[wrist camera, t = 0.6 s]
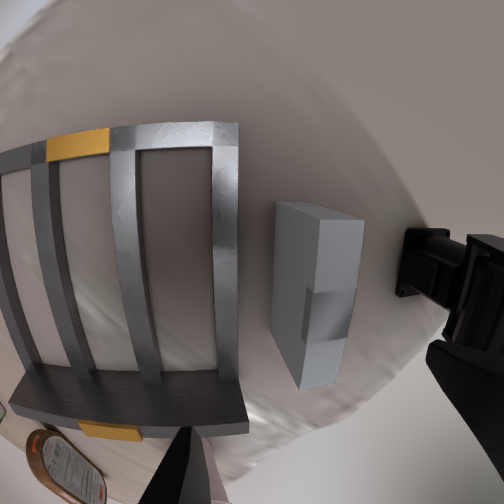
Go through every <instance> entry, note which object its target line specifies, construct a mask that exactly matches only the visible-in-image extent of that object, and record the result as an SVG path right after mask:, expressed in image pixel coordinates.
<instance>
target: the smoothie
mask: <svg viewBox="0 0 504 504" xmlns="http://www.w3.org/2000/svg"><path fill="white" fill-rule="evenodd" d="M201 440H202V443H203V449H204V454H205V460H206V465H207V470H208V475H209V482H210V495H211V504H231V503H229V501H228V498H227V495H226V492H225V489H224V486H223V484H222V481H221V478H220V475H219V472H218V469H217V466H216V462H215V459H214V456H213V453H212V449H211V446H210V443H209V440H208V439H206V438H205V437H201Z"/></svg>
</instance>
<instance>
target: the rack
mask: <svg viewBox="0 0 504 504" xmlns="http://www.w3.org/2000/svg"><path fill="white" fill-rule="evenodd" d="M238 143H239V122H217V121H206V122H172V123H155V124H143V125H133V126H124V127H116V128H110V127H109V128H102V129H95V130H89V131H83V132H78V133H73V134H68V135H63V136H58V137H54V138H49V139H47V140H45V141H41V142H37V143H33V144H29V145H26V146H22V147H19V148H15V149H12V150H9V151H6V152H3V153H0V308H1V311H2V314H3V317H4V320H5V323H6V325H7V328H8V331H9V333H10V336H11V338H12V341H13V343H14V346H15V348H16V350H17V353H18V355H19V357H20V359H21V361H22V364H23V366H24V368H25V370H26V372H25V374H24V376H23V377H22V379H21V381H20V382H19V384H18V386H17V387H16V389H15V391H14V393H13V394H12V396H11V398H10V400H9V401H8V403H9V405H10V406H11V408H12V409H13V411H14V412H15V414H17V415H20V416H23V417H26V418H30V419H33V420H37V421H40V422H44V423H48V424H52V425H56V426H61V427H66V428H71V429H76V430H81V431H83V432H84V433H85V435H86V436H92V437H99V438H106V439H114V440H124V441H137V442H142V439H143V437H145V438H175V436H176V434H177V432H178V430H179V428H180V427H182V426H189V425H192V426H193V427H194V428H195V430H196V431H197V433H198V434H199V436H200V437H216V436H228V435H237V434H246V433H249V419H248V415H247V412H246V408H245V404H244V400H243V396H242V392H241V388H240V384H239V380H238V289H237V235H238ZM199 148H211V231H212V270H213V296H214V317H215V335H216V351H217V365H218V370H205V371H183V372H163V368H162V363H161V359H160V354H159V349H158V344H157V339H156V333H155V328H154V322H153V316H152V310H151V303H150V296H149V289H148V281H147V273H146V264H145V255H144V244H143V231H142V215H141V192H140V151H154V150H171V149H199ZM102 155H110V190H111V210H112V224H113V235H114V244H115V253H116V261H117V268H118V275H119V282H120V288H121V293H122V299H123V304H124V309H125V314H126V319H127V324H128V328H129V333H130V337H131V341H132V345H133V349H134V353H135V357H136V361H137V364H138V368H139V371H140V372H126V371H105V370H97V369H96V367H95V364H94V361H93V358H92V356H91V353H90V350H89V347H88V344H87V341H86V338H85V334H84V331H83V328H82V324H81V321H80V317H79V313H78V310H77V306H76V302H75V298H74V293H73V289H72V284H71V280H70V275H69V269H68V264H67V258H66V252H65V245H64V238H63V230H62V221H61V210H60V195H59V162H63V161H69V160H75V159H81V158H88V157H95V156H102ZM29 168H31V192H32V207H33V218H34V227H35V235H36V242H37V248H38V254H39V260H40V265H41V270H42V275H43V279H44V284H45V288H46V292H47V296H48V299H49V303H50V307H51V310H52V314H53V317H54V320H55V323H56V327H57V330H58V333H59V335H60V338H61V341H62V344H63V347H64V349H65V352H66V355H67V357H68V360H69V362H70V365H71V367H72V368H70V367H62V366H54V365H47V364H43V363H42V361H41V358H40V356H39V354H38V351H37V349H36V346H35V344H34V341H33V339H32V336H31V333H30V331H29V328H28V325H27V322H26V319H25V316H24V313H23V310H22V307H21V304H20V300H19V297H18V293H17V289H16V286H15V282H14V277H13V273H12V269H11V264H10V259H9V254H8V248H7V242H6V236H5V228H4V220H3V210H2V196H1V175H5V174H8V173H12V172H16V171H20V170H24V169H29Z"/></svg>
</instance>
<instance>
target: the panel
mask: <svg viewBox="0 0 504 504" xmlns="http://www.w3.org/2000/svg"><path fill="white" fill-rule="evenodd" d="M364 223H365V220H363V219H360V218H357V217H354V216H351V215H348V214H345V213H342V212H339V211H336V210H332V209H329V208H326V207H323V206H320V205H316V204H313V203H310V202H276V212H275V241H274V265H273V287H272V306H271V324H270V332H271V334H272V336H273V338H274V340H275V342H276V344H277V346H278V348H279V350H280V352H281V355H282V357H283V359H284V361H285V363H286V365H287V367H288V369H289V371H290V373H291V375H292V377H293V379H294V381H295V383H296V385H297V387H298V389H299V391H300V390H305V389H310V388H315V387H319V386H324V385H328V384H332V383H335V382H336V378H337V374H338V370H339V367H340V363H341V359H342V355H343V350H344V346H345V342H346V338H347V336H348V332H349V327H350V322H351V317H352V312H353V307H354V301H355V296H356V290H357V288H356V285H357V279H358V272H359V266H360V258H361V251H362V242H363V233H364Z"/></svg>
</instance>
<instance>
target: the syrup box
mask: <svg viewBox="0 0 504 504" xmlns="http://www.w3.org/2000/svg"><path fill="white" fill-rule="evenodd" d="M5 414H6V411H5V409H4V408H3V406H2V405H1V403H0V424H1V422H2V420H3V418H4V416H5Z"/></svg>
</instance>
